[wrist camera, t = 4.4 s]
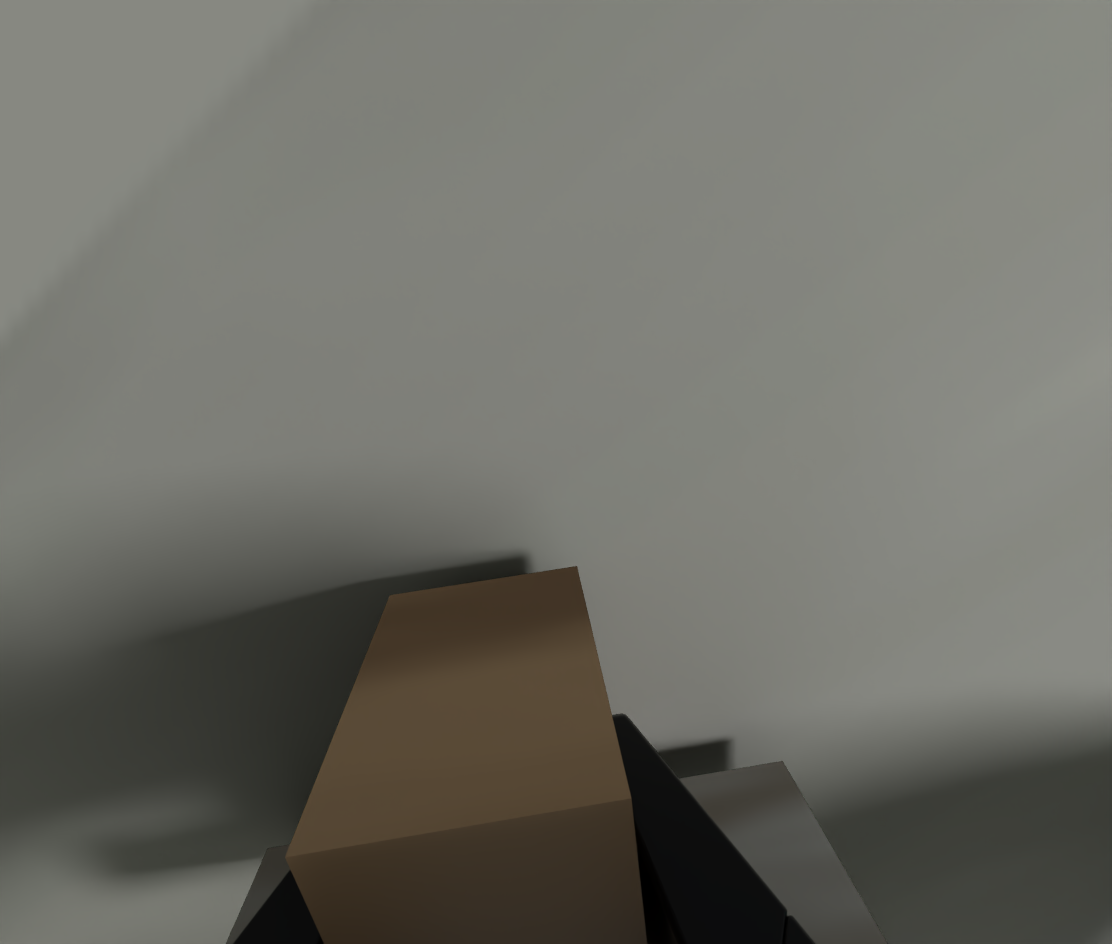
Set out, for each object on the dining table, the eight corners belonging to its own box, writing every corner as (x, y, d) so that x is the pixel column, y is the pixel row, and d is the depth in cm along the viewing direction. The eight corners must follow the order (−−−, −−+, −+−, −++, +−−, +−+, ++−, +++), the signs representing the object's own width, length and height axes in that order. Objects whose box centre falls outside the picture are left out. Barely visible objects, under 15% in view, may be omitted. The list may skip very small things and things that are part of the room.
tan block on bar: (165, 629, 8) (-140, 929, 4) (789, 532, 8) (1016, 733, 5) (286, 890, 10) (155, 1242, 6) (781, 804, 10) (932, 1093, 7)
